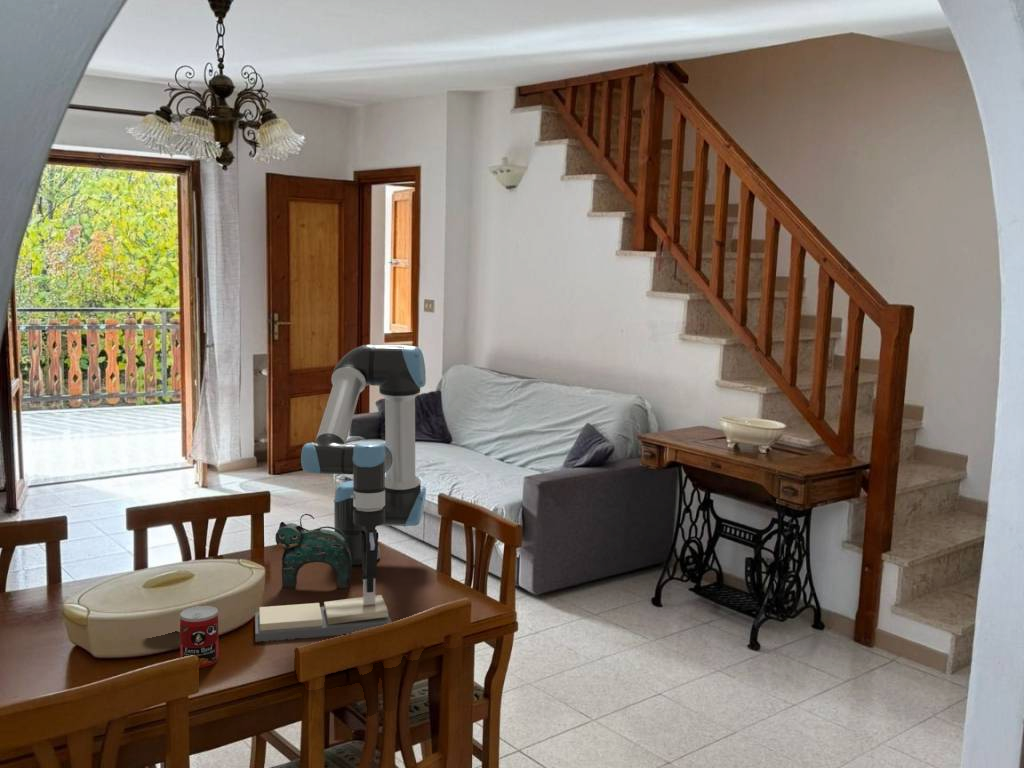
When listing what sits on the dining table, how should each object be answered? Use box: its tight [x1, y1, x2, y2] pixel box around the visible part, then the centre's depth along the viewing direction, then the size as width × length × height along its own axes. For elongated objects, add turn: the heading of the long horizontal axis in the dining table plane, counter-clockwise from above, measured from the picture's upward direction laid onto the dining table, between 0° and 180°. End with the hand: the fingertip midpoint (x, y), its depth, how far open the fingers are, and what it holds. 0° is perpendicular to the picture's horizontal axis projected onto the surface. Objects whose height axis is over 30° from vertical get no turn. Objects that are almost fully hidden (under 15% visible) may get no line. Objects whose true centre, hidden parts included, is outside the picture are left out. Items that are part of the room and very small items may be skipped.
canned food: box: [179, 605, 219, 669], centre depth 190 cm, size 8×8×11 cm
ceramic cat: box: [274, 513, 353, 589], centre depth 239 cm, size 20×6×20 cm, turn 92°
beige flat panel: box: [323, 594, 389, 625], centre depth 214 cm, size 11×14×2 cm
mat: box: [254, 602, 393, 643], centre depth 212 cm, size 14×31×4 cm, turn 106°
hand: (369, 603), depth 214 cm, fingers closed
